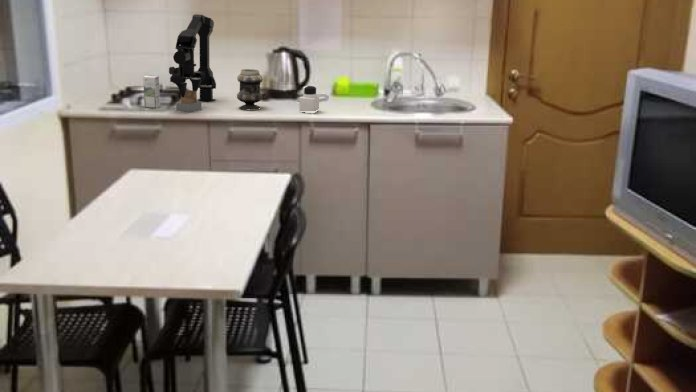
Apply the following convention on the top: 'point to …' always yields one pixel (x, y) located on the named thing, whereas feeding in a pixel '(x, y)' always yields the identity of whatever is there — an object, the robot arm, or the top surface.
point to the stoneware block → (188, 106)
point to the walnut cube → (189, 97)
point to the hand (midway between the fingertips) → (188, 95)
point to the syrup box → (151, 91)
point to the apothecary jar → (249, 88)
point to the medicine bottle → (309, 99)
